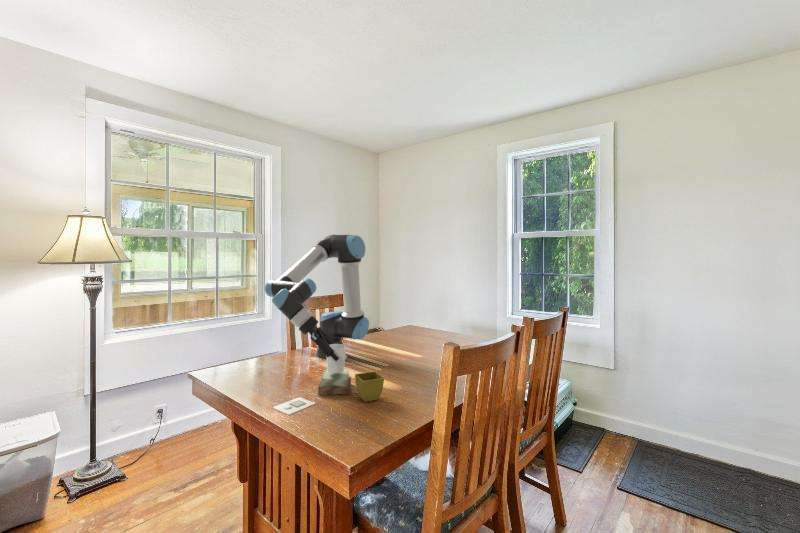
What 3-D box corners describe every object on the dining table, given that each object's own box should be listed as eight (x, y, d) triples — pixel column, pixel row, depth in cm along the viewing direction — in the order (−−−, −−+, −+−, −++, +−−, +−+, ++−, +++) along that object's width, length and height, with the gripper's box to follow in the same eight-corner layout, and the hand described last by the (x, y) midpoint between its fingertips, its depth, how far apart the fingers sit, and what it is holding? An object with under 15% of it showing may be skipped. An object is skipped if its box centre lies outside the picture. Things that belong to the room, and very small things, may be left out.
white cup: (338, 366, 154) (338, 342, 153) (349, 371, 148) (350, 346, 148) (321, 370, 148) (322, 345, 148) (332, 375, 142) (333, 349, 142)
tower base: (318, 394, 142) (318, 379, 142) (322, 383, 154) (322, 369, 153) (349, 394, 143) (349, 379, 143) (350, 383, 155) (351, 369, 154)
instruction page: (299, 397, 139) (299, 396, 139) (315, 403, 133) (315, 402, 133) (272, 407, 129) (272, 406, 129) (288, 415, 124) (288, 414, 124)
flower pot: (362, 405, 133) (362, 381, 133) (353, 396, 141) (354, 373, 141) (384, 401, 137) (384, 378, 137) (374, 393, 145) (375, 371, 145)
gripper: (302, 323, 156) (339, 360, 158) (292, 333, 136) (335, 377, 138) (315, 311, 157) (352, 348, 158) (307, 319, 136) (349, 363, 138)
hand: (344, 361), depth 148 cm, fingers closed on white cup, 8 cm apart
